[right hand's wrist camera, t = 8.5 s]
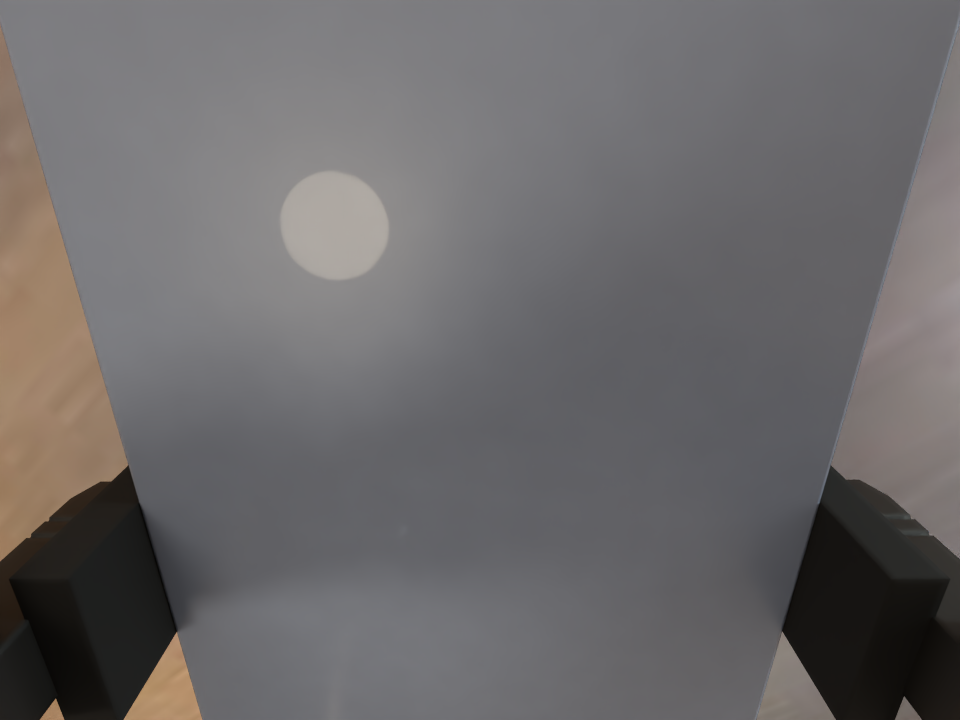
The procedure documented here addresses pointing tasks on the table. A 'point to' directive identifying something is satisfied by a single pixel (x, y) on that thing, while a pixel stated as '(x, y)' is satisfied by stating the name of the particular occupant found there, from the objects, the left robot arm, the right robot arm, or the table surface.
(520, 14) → the cabinet
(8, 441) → the table surface
